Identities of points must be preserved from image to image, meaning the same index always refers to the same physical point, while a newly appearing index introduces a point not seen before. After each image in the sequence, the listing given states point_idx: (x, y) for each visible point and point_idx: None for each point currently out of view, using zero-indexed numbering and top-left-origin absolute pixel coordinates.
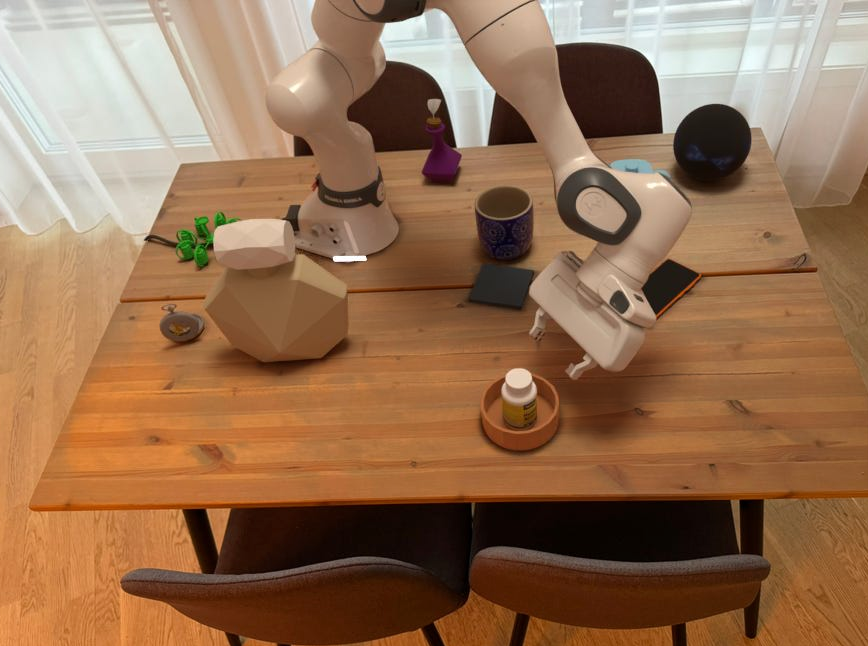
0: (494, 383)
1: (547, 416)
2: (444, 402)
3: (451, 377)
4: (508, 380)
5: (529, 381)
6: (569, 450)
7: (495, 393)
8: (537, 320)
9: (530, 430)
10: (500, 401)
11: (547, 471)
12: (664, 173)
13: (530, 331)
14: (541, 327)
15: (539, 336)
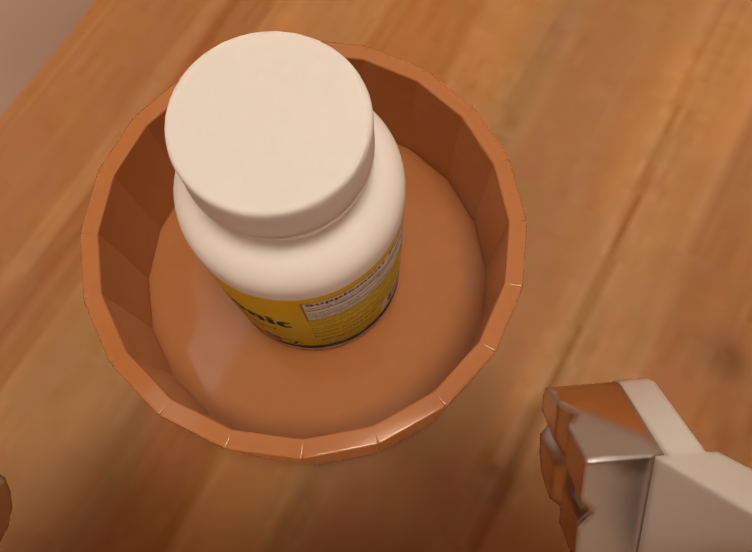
0: (495, 176)
1: (253, 390)
2: (570, 49)
3: (696, 126)
4: (290, 49)
5: (189, 168)
6: (39, 384)
7: (482, 212)
8: (743, 499)
9: (102, 185)
10: (453, 241)
11: (15, 244)
12: None
13: (653, 390)
14: (654, 531)
15: (562, 461)
